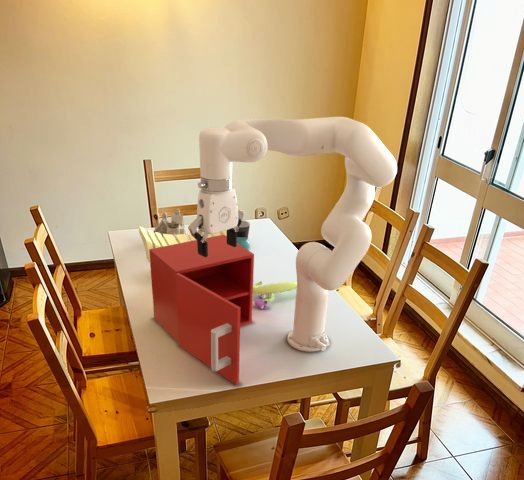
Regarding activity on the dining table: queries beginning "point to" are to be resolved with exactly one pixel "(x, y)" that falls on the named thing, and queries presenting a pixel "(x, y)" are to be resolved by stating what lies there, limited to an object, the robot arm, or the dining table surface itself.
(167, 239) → the slatted curved stool
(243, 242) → the beverage bottle
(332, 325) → the dining table surface
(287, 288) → the figurine
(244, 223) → the coffee mug
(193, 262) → the box
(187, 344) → the fridge door
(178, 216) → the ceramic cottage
